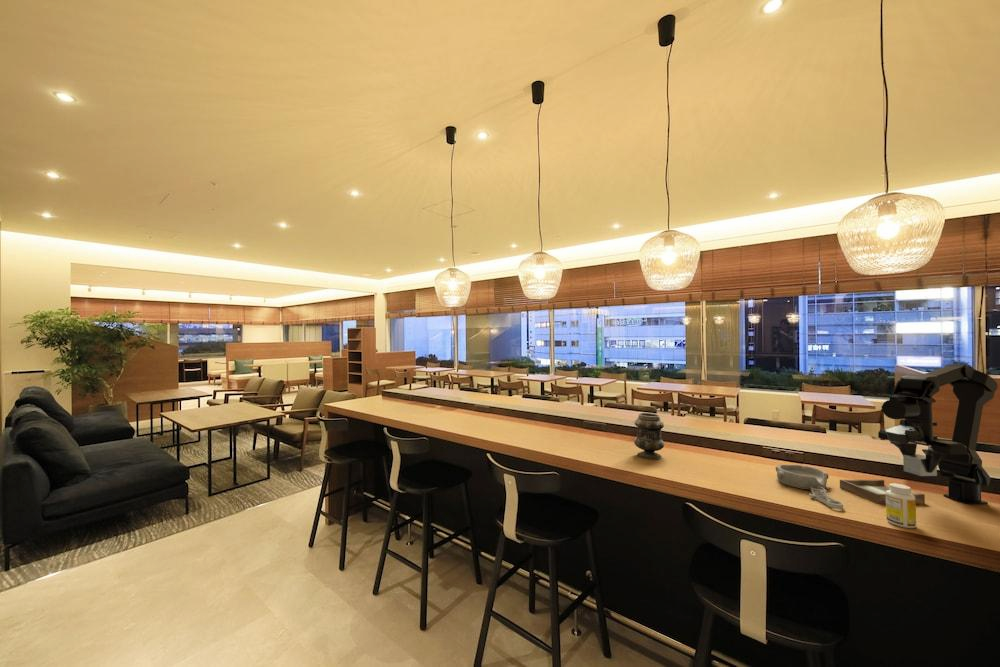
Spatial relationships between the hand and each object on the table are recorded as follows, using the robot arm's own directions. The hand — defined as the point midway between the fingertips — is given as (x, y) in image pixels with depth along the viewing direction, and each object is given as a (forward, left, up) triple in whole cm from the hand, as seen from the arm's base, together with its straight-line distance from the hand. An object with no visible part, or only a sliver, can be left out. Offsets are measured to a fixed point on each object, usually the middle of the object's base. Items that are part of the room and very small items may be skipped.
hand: (919, 469), depth 113 cm
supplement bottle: (+18, +11, -11) cm, 24 cm away
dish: (+22, -18, -11) cm, 30 cm away
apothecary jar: (+61, -50, -11) cm, 80 cm away
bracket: (+25, -5, -11) cm, 28 cm away
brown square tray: (+4, -8, -11) cm, 14 cm away
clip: (0, 0, -1) cm, 1 cm away
